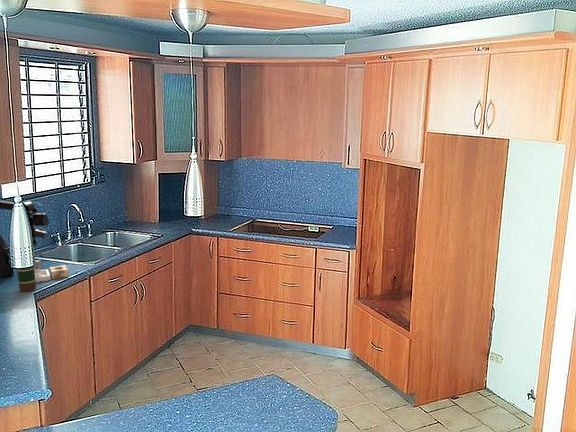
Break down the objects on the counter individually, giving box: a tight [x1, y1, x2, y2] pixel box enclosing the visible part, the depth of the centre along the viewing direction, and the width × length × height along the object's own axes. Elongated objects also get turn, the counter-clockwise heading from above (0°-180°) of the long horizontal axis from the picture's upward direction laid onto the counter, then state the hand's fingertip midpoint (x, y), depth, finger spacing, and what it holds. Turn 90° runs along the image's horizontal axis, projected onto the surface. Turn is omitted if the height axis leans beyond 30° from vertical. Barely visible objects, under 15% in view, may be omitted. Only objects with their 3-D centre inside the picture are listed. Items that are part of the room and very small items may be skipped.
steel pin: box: [34, 259, 42, 277], centre depth 305 cm, size 4×4×9 cm
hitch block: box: [49, 264, 69, 280], centre depth 310 cm, size 8×10×4 cm
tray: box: [35, 269, 52, 283], centre depth 305 cm, size 11×14×2 cm
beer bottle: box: [16, 266, 37, 293], centre depth 285 cm, size 8×8×24 cm
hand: (31, 254), depth 308 cm, fingers open, 9 cm apart
